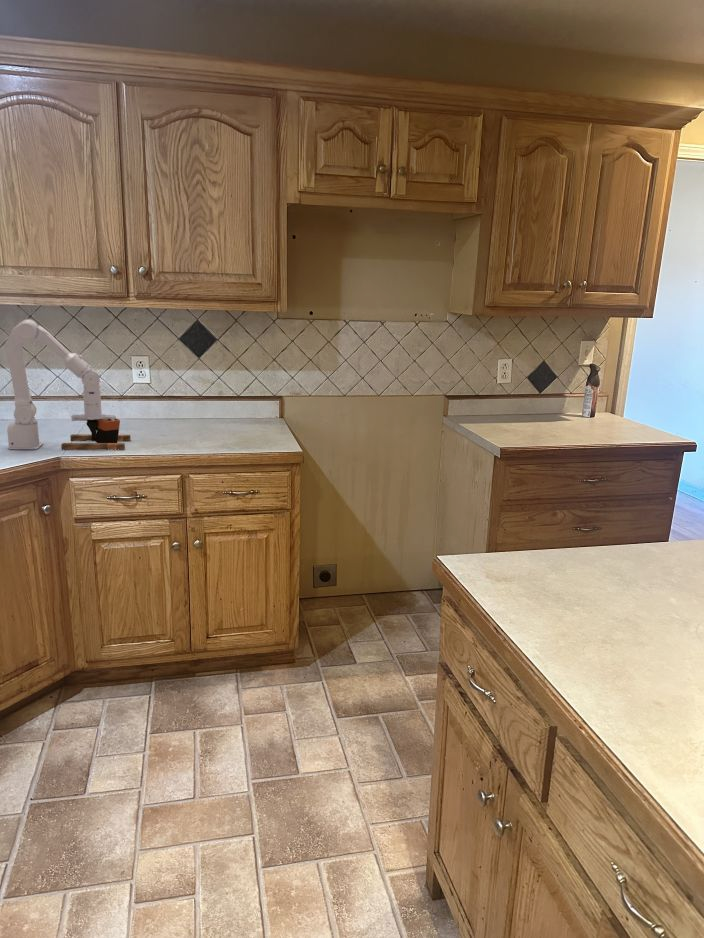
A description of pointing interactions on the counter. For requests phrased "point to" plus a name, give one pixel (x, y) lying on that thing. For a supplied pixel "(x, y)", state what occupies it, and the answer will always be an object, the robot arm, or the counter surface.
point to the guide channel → (94, 445)
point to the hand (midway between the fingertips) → (94, 440)
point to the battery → (107, 431)
